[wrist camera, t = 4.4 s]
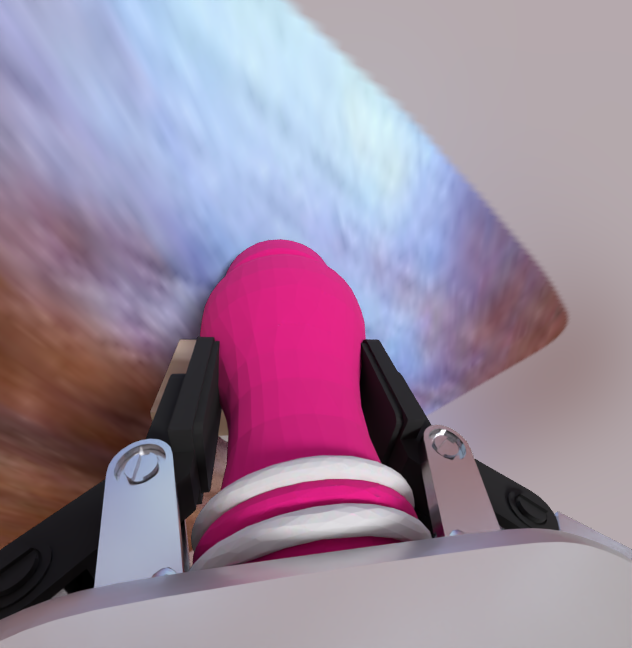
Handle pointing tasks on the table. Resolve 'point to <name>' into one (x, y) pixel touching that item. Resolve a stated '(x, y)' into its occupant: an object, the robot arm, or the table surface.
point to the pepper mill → (294, 418)
